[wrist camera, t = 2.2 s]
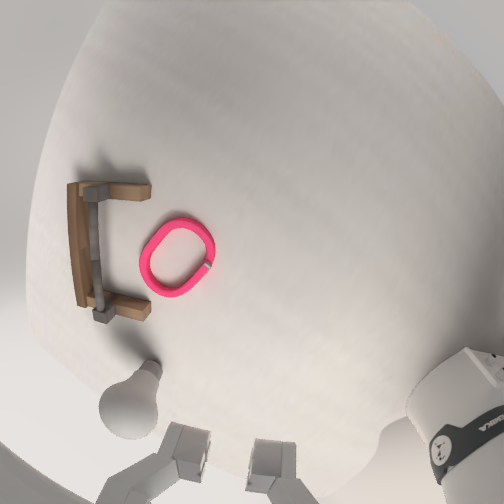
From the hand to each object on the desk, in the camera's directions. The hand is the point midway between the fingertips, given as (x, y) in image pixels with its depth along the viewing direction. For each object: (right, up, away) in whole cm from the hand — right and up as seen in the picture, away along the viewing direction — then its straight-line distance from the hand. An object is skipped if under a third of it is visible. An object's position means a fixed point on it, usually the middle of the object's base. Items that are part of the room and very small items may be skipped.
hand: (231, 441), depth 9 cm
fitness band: (-6, +7, +17) cm, 19 cm away
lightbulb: (-11, -6, +22) cm, 25 cm away
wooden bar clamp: (-12, +7, +17) cm, 22 cm away
